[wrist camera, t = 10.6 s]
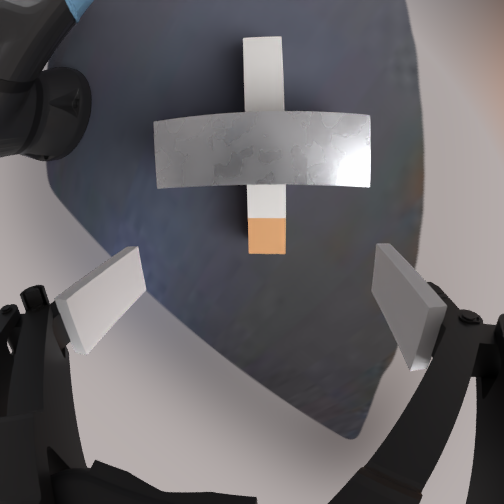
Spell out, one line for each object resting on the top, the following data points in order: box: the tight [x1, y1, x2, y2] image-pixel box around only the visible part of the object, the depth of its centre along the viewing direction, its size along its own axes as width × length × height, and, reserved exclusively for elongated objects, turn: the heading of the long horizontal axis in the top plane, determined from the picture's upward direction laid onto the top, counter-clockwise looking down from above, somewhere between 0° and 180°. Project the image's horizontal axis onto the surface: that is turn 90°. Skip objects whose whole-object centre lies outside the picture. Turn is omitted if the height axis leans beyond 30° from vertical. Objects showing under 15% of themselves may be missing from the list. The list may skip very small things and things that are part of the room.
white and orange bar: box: [243, 37, 286, 254], centre depth 30 cm, size 24×4×5 cm, turn 1°
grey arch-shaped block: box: [154, 111, 371, 189], centre depth 27 cm, size 6×18×12 cm, turn 92°
